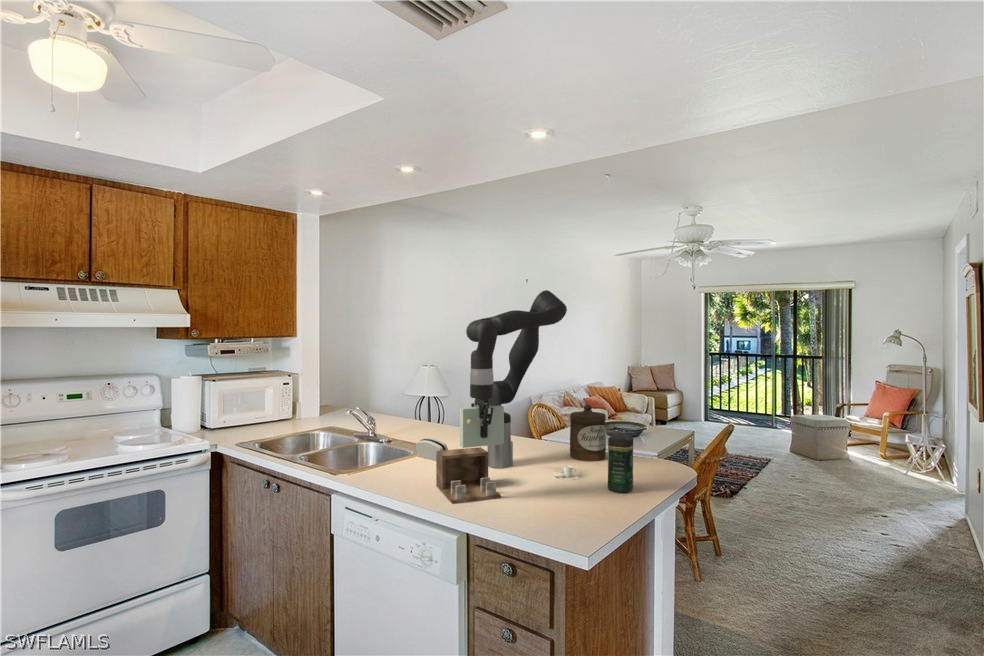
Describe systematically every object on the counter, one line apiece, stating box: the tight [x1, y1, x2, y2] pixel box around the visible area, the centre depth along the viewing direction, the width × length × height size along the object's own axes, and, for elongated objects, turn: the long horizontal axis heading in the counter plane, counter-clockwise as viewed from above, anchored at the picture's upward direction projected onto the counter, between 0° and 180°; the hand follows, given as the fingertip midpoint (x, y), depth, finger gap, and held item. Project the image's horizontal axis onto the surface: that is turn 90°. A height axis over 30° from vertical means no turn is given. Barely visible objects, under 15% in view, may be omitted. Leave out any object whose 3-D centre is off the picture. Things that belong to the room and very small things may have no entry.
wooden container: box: [569, 404, 607, 462], centre depth 220 cm, size 15×15×22 cm
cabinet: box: [435, 446, 502, 504], centre depth 172 cm, size 16×20×12 cm
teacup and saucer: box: [553, 465, 580, 481], centre depth 190 cm, size 9×8×4 cm
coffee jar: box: [607, 432, 634, 494], centre depth 175 cm, size 10×8×19 cm
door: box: [459, 405, 505, 449], centre depth 166 cm, size 14×4×12 cm, turn 113°
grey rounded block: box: [415, 437, 449, 462], centre depth 215 cm, size 17×5×10 cm, turn 50°
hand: (481, 436), depth 167 cm, fingers closed on door, 3 cm apart
